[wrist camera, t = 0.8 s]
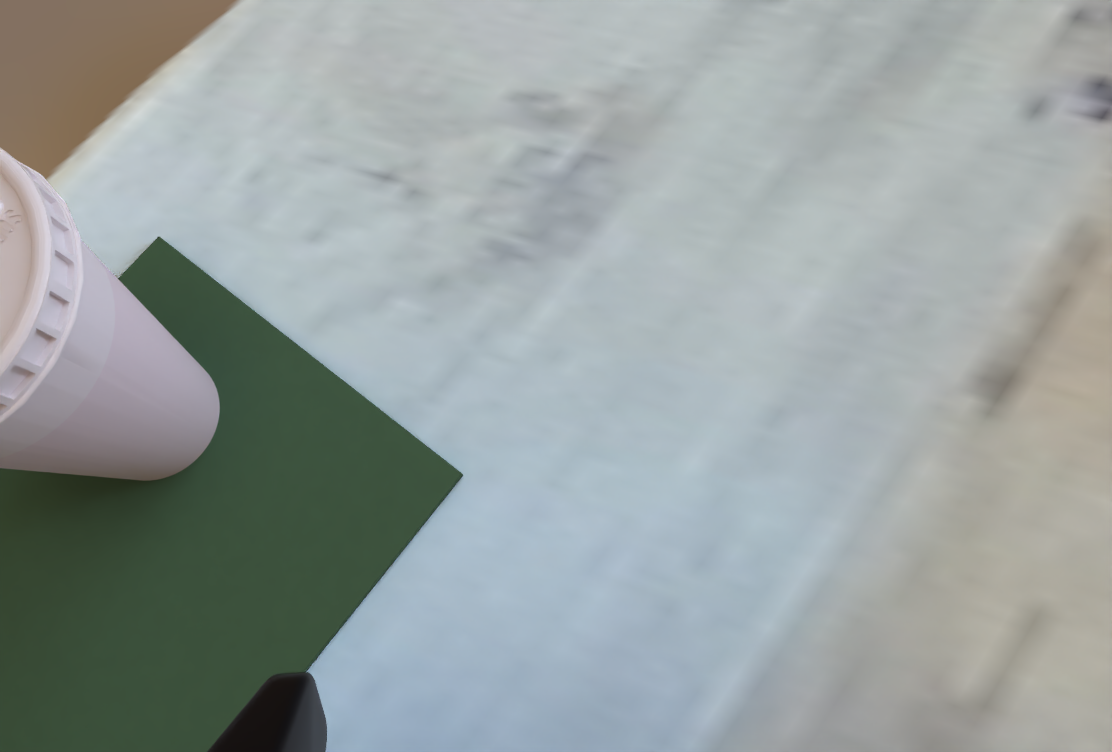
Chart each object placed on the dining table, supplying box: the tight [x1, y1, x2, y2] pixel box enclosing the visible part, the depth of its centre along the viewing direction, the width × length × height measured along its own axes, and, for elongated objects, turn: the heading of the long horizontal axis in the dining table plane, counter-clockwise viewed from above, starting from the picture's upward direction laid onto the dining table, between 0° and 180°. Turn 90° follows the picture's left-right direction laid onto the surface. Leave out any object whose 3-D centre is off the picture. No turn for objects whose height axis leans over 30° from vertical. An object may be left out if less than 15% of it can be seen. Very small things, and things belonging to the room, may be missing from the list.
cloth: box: [0, 237, 463, 752], centre depth 22 cm, size 20×12×1 cm, turn 142°
